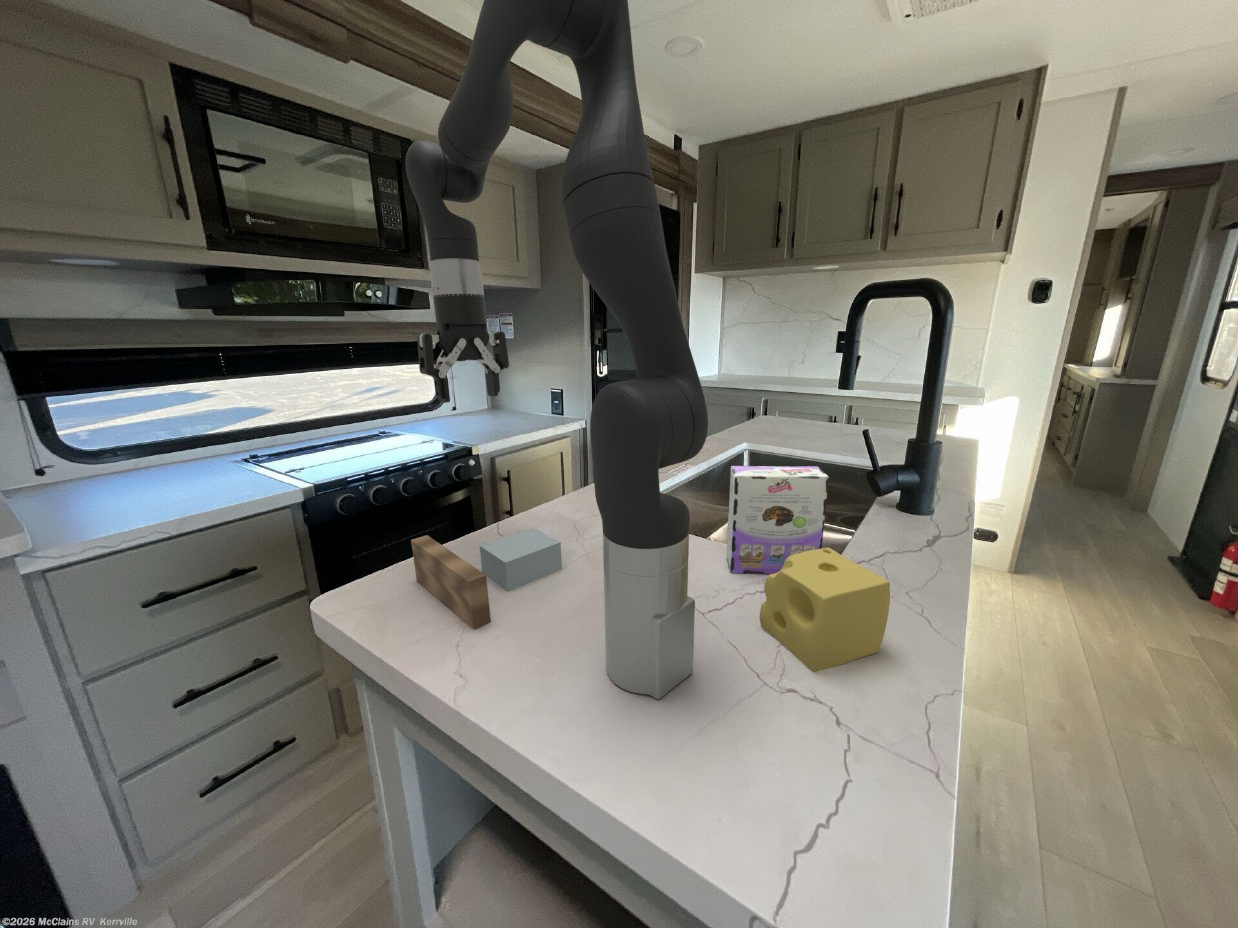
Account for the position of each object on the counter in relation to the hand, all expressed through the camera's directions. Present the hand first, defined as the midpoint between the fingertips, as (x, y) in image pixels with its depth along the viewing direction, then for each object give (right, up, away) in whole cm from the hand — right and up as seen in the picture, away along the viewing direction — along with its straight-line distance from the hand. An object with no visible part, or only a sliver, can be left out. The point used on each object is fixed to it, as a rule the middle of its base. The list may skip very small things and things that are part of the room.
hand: (469, 399), depth 80 cm
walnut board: (0, -30, -8) cm, 31 cm away
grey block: (+8, -28, 0) cm, 29 cm away
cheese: (+49, -33, -18) cm, 62 cm away
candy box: (+49, -27, 0) cm, 56 cm away
